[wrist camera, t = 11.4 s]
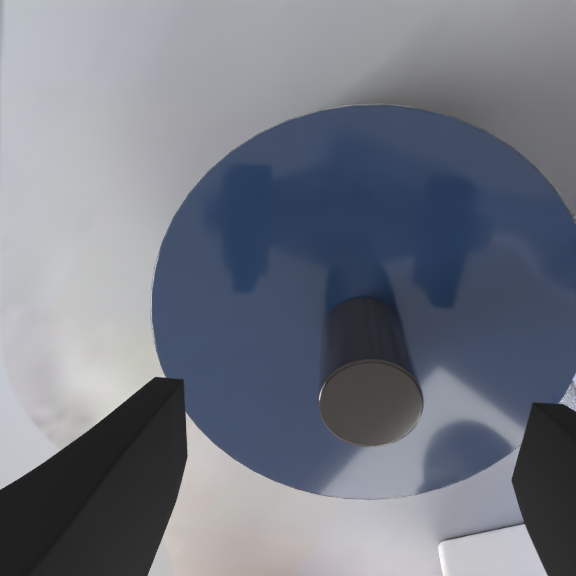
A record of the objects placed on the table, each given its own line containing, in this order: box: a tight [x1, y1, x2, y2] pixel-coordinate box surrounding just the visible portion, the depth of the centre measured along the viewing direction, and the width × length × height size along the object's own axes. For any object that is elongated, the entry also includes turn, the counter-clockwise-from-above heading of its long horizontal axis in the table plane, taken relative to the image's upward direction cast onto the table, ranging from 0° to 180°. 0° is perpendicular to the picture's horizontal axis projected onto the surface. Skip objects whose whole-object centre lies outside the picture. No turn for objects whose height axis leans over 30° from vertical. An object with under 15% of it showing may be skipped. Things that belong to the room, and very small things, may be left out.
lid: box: [151, 104, 576, 500], centre depth 14 cm, size 13×13×5 cm
